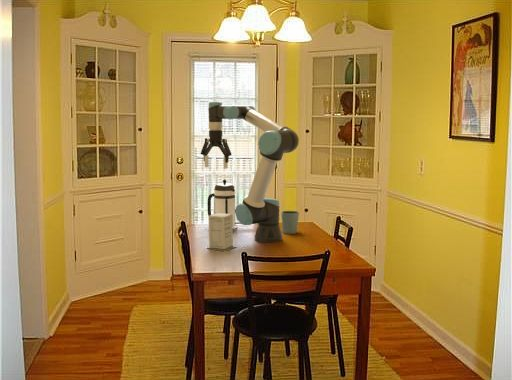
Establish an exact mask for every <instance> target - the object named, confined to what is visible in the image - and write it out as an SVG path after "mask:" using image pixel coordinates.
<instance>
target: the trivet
mask: <svg viewBox="0 0 512 380" xmlns="http://www.w3.org/2000/svg"><path fill="white" fill-rule="evenodd" d="M236 248H237V245H233V246H231V247H228V248H226V249H218V248H209V246H206V249H207V250H213V251H217V252H218V251H220V252H226V251H229V250H230V251H231V250H233V249H236Z"/></svg>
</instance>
